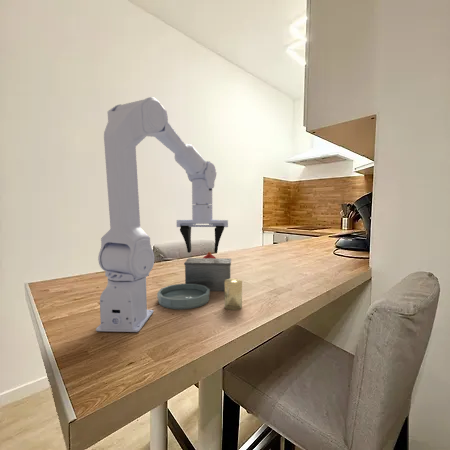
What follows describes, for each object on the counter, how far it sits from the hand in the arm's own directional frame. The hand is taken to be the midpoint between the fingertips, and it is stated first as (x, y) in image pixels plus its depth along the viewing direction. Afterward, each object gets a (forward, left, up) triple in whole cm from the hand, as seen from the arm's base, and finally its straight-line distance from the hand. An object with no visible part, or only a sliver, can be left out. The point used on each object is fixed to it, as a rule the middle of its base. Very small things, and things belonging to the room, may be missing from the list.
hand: (202, 252), depth 79 cm
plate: (-13, +3, -9) cm, 16 cm away
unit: (-3, -2, -9) cm, 10 cm away
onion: (+9, -1, -10) cm, 13 cm away
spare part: (-17, -9, -10) cm, 21 cm away
